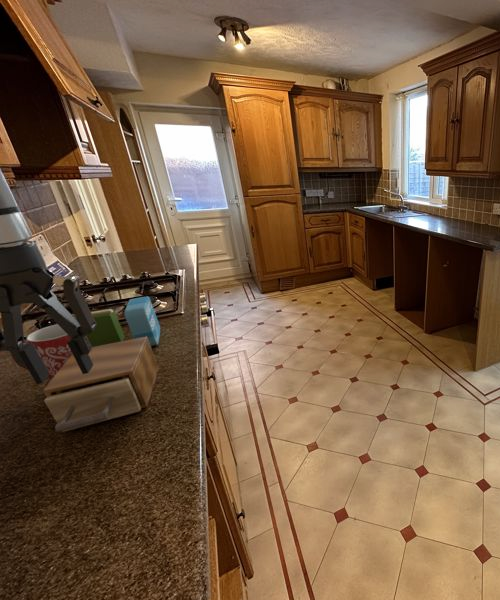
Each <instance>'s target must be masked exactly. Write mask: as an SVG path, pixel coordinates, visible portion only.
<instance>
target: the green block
mask: <svg viewBox="0 0 500 600" xmlns="http://www.w3.org/2000/svg"><path fill="white" fill-rule="evenodd" d="M91 313H92V315H93V317H94V319H95V321H96V323H97V326H96V328H95V329H94V330H93V332H92V333H90V334H87V338H88V340H89V342H90V344H91V346H92V347H96V346H101V345H106V344H111V343H116V342H121V341H124V340H125V337H126V336H125V333H124V331H123V328H122V326H121V323H120V321H119V319H118V316H117V314H116V311H115V309H112V308H107V309H102V310H95V311H91ZM73 317H74V318H75V319H76V317H75V315H74V316H73ZM76 320H77V319H76Z"/></svg>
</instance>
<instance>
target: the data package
mask: <svg viewBox="0 0 500 600" xmlns="http://www.w3.org/2000/svg"><path fill="white" fill-rule="evenodd" d="M123 313H124V314H123V315H124V319H125V321H126V323H127V325H128V328H129V330H130V333H131V335H132V339H137V338H142V337H147V338H148V341H149V343H150V346H151V347H154V346H158V345H159V341H160V336H161V326H160V323H159V320H158V316H157V315H156V311H155V309H154V306H153V303H152V301H151V298H150V297H149V296H147V295H146V296H140V297H136V298H130V299H129V300H128V303H127V305H126V307H125V309H124V311H123Z"/></svg>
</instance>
